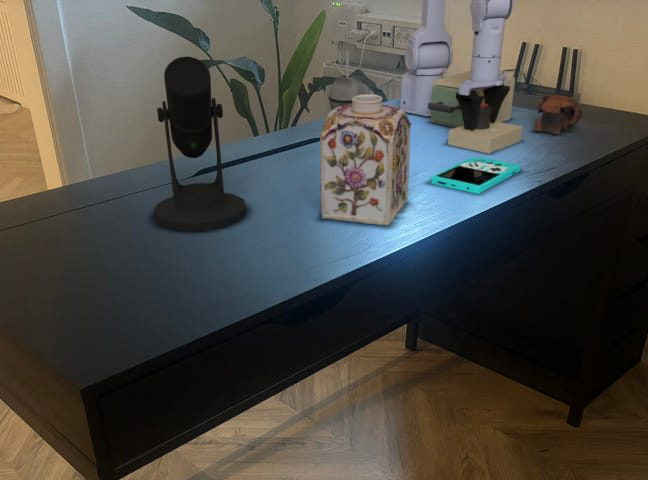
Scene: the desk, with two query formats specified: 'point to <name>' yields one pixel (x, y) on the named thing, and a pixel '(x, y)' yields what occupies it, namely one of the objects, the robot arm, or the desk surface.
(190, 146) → the microphone
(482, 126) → the timer dial
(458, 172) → the handheld game console
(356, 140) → the decorative jar
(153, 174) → the desk surface
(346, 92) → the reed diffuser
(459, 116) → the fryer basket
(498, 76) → the robot arm
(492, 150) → the block
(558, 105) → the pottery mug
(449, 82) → the drawer box
